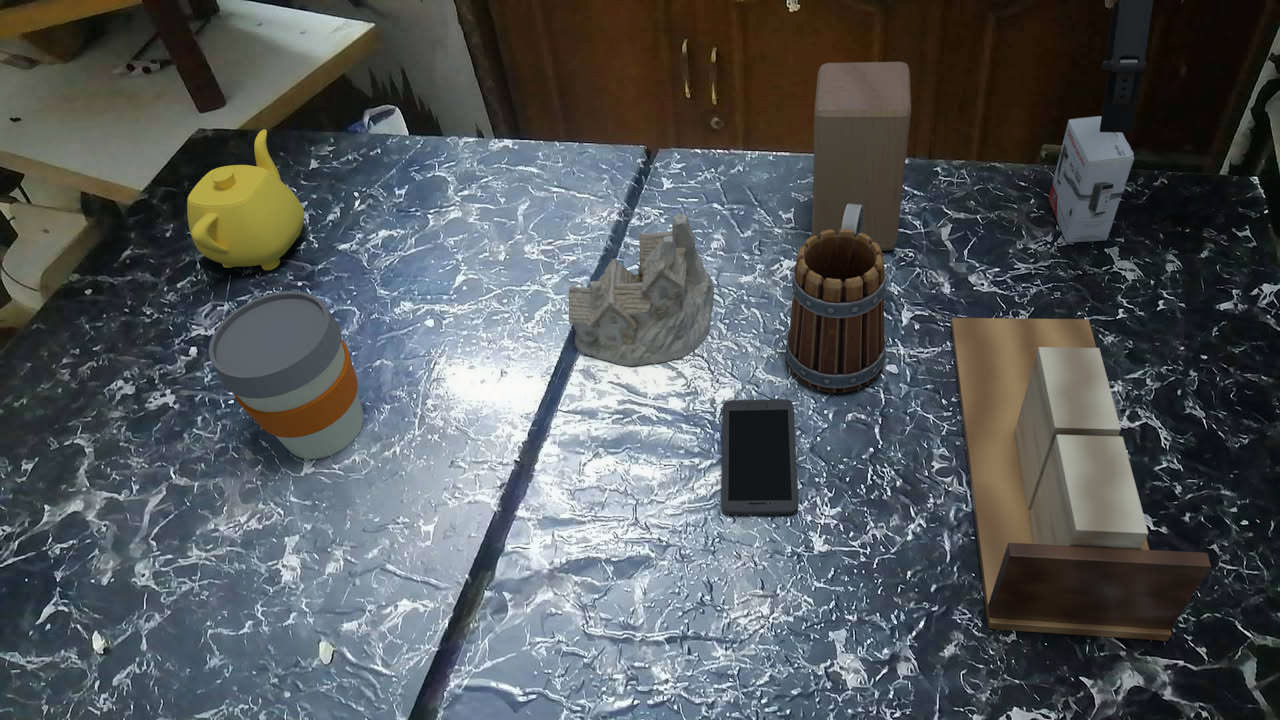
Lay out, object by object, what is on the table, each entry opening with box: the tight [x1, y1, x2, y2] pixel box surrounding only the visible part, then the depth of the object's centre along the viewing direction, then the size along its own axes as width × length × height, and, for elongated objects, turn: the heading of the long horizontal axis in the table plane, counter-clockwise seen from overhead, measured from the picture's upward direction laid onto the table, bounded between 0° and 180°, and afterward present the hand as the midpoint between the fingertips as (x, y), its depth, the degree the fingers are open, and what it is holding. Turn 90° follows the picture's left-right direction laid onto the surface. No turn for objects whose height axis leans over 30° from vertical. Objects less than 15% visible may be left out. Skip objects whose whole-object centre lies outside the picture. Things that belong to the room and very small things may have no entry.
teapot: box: [186, 128, 306, 271], centre depth 123 cm, size 13×20×12 cm
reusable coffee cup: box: [208, 290, 365, 460], centre depth 97 cm, size 13×12×15 cm
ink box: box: [1047, 115, 1135, 244], centre depth 107 cm, size 9×5×12 cm, turn 178°
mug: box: [785, 204, 887, 393], centre depth 97 cm, size 16×11×15 cm
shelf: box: [950, 317, 1212, 642], centre depth 84 cm, size 14×36×13 cm, turn 172°
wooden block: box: [811, 61, 912, 252], centre depth 108 cm, size 10×10×20 cm
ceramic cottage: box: [567, 213, 715, 367], centre depth 104 cm, size 16×16×15 cm
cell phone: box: [720, 398, 799, 516], centre depth 93 cm, size 7×14×1 cm, turn 176°
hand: (1117, 96), depth 92 cm, fingers open, 13 cm apart
